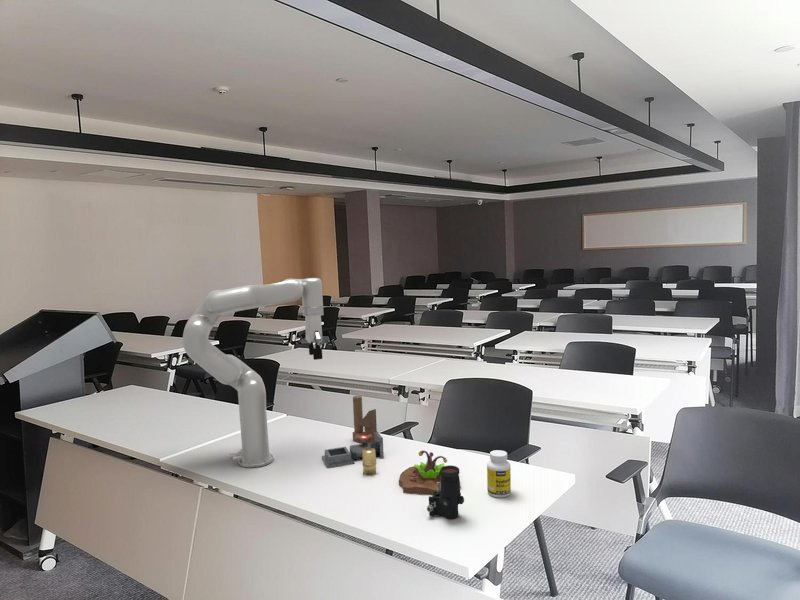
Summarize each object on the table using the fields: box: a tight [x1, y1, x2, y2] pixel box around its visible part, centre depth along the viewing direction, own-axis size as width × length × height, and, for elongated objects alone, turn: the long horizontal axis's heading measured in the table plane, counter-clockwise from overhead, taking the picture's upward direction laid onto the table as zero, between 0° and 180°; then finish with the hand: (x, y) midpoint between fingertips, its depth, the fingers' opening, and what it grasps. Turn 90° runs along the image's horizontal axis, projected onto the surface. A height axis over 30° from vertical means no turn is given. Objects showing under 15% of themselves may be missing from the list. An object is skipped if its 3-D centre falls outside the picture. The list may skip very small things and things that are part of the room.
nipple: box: [361, 448, 378, 477], centre depth 196 cm, size 5×5×8 cm
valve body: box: [321, 431, 385, 469], centre depth 210 cm, size 21×10×8 cm, turn 108°
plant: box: [398, 450, 448, 496], centre depth 187 cm, size 20×20×11 cm
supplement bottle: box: [486, 449, 512, 498], centre depth 176 cm, size 7×7×13 cm
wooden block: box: [352, 395, 378, 444], centre depth 226 cm, size 4×11×18 cm, turn 46°
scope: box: [426, 465, 465, 520], centre depth 164 cm, size 8×14×10 cm
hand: (315, 356), depth 215 cm, fingers open, 9 cm apart
